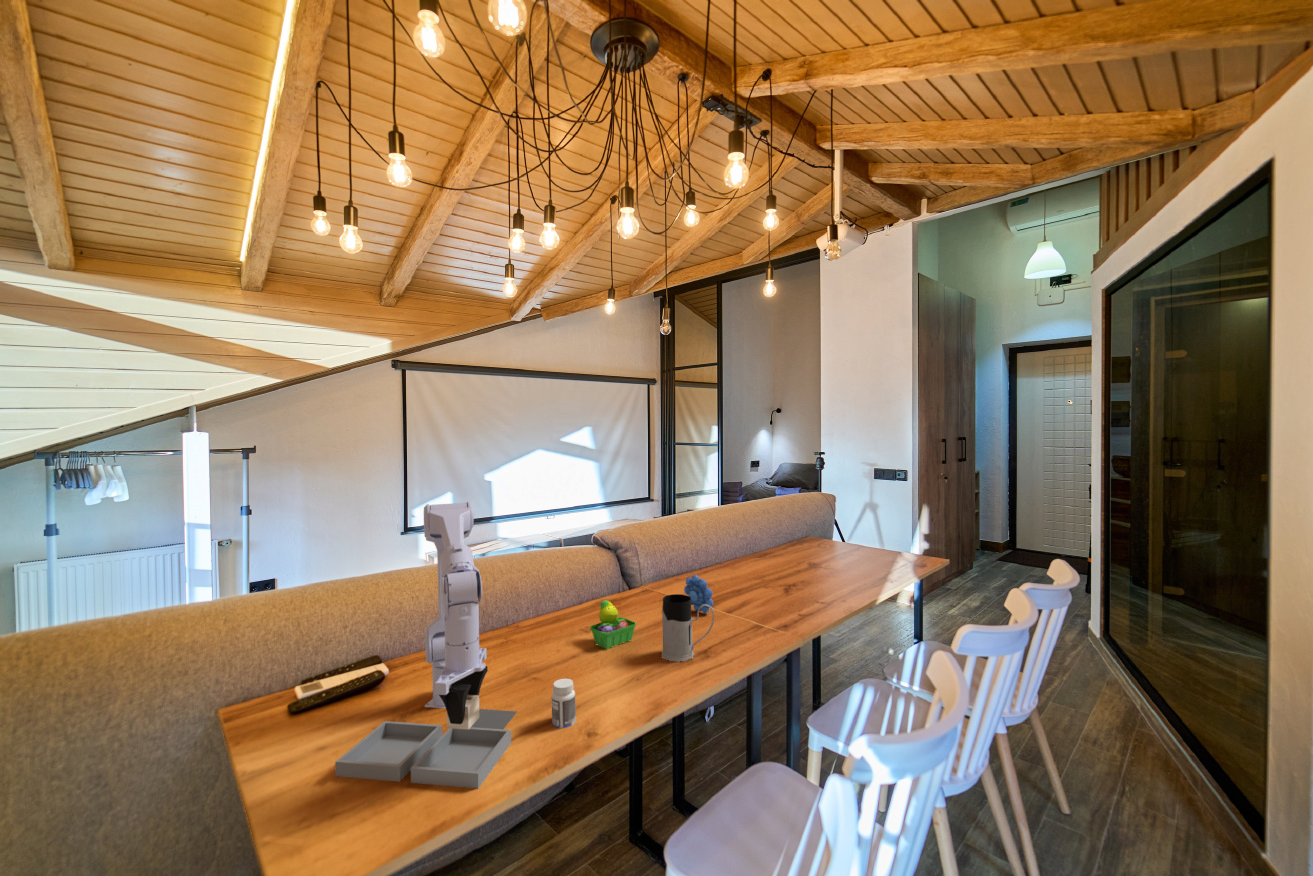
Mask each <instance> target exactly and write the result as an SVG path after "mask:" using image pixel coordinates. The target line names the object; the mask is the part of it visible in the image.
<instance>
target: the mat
mask: <svg viewBox="0 0 1313 876" xmlns="http://www.w3.org/2000/svg"><path fill="white" fill-rule="evenodd" d="M517 713H518V711H516V710H499V709H487V708H485V709H483V708H479V718H478V720H477V721H476V722H475V723H474V724H473V725H472V726H471V727H475V728H489V729H504V730H505V728H507V726H508V724H509V723H510V721H511V720H512V719H513V718H514V716H515V715H516V714H517Z"/></svg>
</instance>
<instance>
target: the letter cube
mask: <svg viewBox="0 0 1313 876" xmlns="http://www.w3.org/2000/svg"><path fill="white" fill-rule="evenodd" d="M479 709H480V694H479V695H467V699H466V704H465V715H464V720H463V723H462V724H451V723H450V720H449V717H448V713H447V712H446V728H447V729H449V728H453V729H467V730H469V728H470V727H471V726H472V725H473V724H474V723H475V722H476V721H477V720H478V718H479Z"/></svg>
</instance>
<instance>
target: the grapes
mask: <svg viewBox="0 0 1313 876" xmlns="http://www.w3.org/2000/svg"><path fill="white" fill-rule="evenodd" d="M683 591H684V595H687V596H689V597H691V606H693V609H694V611H695V612H696V611H698V608H699V607H700V606H701V605H704V604H706V605H709V606H711V607H712V608H713V606H714V600H713V599H712V597H713V594H714V593H713V590H712V589H711V588H709V587H708V582H707V581H706V580H705V579H704V578H700V577H699V576H698V575H697V574H693V575H692V576H691V577H687V578H686V579H685V586H684V588H683ZM699 611H701V612H702V613H703V612H704V613H703V614H708V613H709V612H710V608H709V607H707V606H703V607H701V608H700V610H699Z"/></svg>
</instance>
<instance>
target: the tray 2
mask: <svg viewBox="0 0 1313 876" xmlns="http://www.w3.org/2000/svg"><path fill="white" fill-rule="evenodd" d="M511 744H512V730H511V729H505V728H504V729H489V728H475V727H470V728H469V730H467V729H453V728H447V730H446V731H445V732H444V733H442V736H441V737H440V738H439V739H438V740H437V741H436V742H435V744H434V745H433V746H432V747H431V748H430V749H429V750H428V751H427V752H426V753H425V754H424V755H423V756H422V757H421V758H420V759H419V760H418V761H417V762H416V763H415V764H414V765H413V766H412V767H411V771H410V783H411V784H422V785H423V784H424V785H433V786H446V787H456V788H457V787H458V788H467V789H469V788H470V789H477V790H478V789H480V787H481V786H482V784H483V783H484V781H485V780H486V778H487V777H488V776H489V775H490V773H491V772H492V770H493V769H494V767H495V766H496V765H497V764H498V762H499V760H501V758H502V757H503V755H504V754H505V752H506V751H507V750H508V749H509V747H510V746H511Z"/></svg>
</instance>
